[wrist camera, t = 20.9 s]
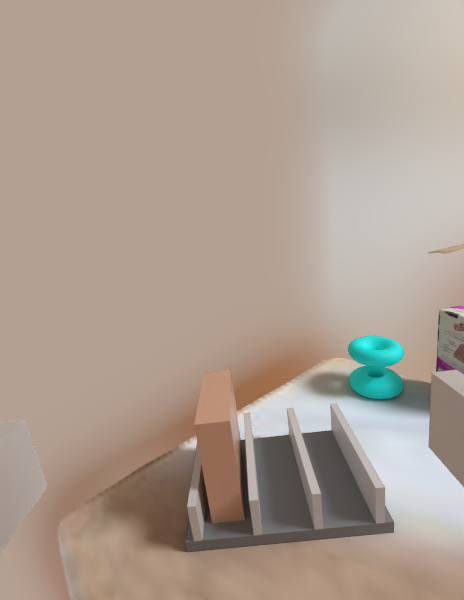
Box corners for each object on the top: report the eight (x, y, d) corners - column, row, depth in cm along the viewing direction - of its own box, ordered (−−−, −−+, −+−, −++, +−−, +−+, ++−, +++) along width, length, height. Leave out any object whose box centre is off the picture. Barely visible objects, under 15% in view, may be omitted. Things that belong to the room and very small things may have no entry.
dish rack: (344, 436, 50) (342, 402, 49) (393, 532, 35) (394, 486, 33) (201, 452, 51) (195, 418, 50) (187, 551, 36) (178, 507, 34)
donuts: (338, 347, 61) (361, 330, 67) (340, 391, 63) (362, 371, 69) (391, 359, 53) (411, 339, 60) (391, 408, 56) (410, 385, 62)
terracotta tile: (241, 448, 49) (230, 369, 45) (244, 520, 37) (230, 420, 34) (217, 451, 49) (204, 372, 45) (212, 523, 37) (194, 424, 34)
